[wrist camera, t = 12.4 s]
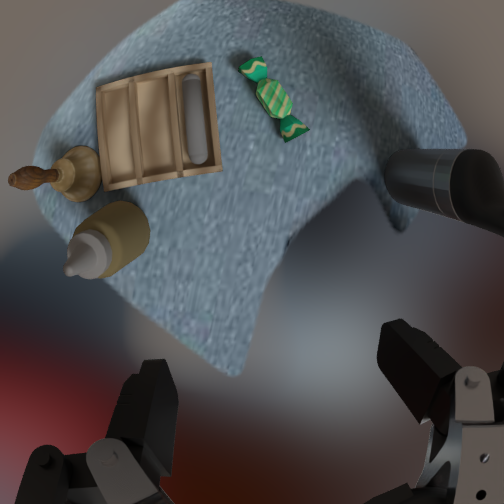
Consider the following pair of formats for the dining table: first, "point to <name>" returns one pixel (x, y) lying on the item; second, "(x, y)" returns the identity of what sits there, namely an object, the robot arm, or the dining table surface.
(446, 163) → the robot arm
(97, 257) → the squeeze bottle
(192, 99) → the grey capsule rod
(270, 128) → the dining table surface
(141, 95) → the wooden compartment tray
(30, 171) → the hand bell
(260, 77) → the candy
